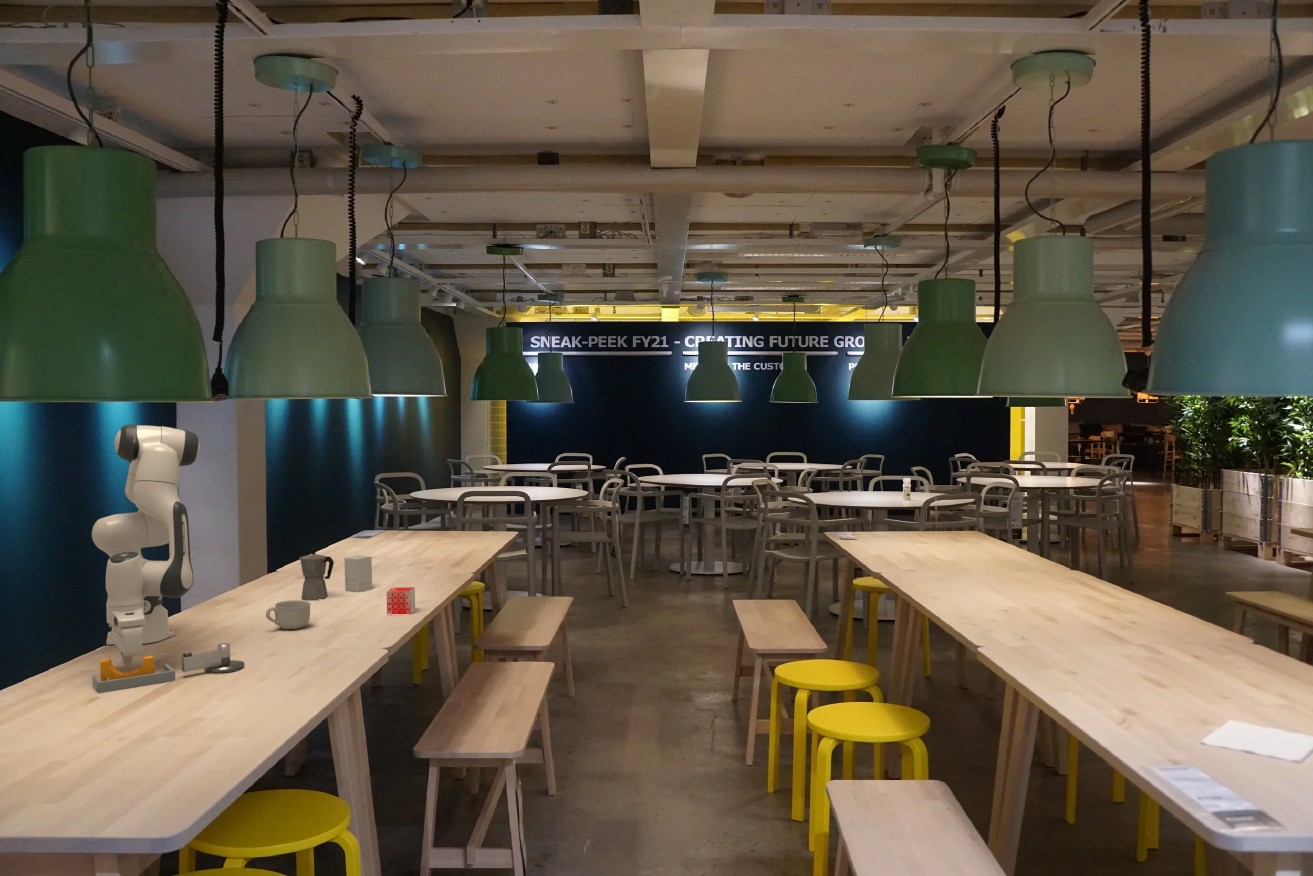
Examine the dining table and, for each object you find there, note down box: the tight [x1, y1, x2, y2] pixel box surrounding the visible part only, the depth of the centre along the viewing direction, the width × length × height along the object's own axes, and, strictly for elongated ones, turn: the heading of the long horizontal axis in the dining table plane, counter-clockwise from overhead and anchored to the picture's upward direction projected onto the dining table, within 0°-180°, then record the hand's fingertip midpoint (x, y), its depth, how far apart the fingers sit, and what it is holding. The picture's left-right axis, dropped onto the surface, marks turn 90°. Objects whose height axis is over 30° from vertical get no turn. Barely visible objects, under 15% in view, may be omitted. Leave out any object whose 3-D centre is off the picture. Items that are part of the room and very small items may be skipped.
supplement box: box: [343, 555, 373, 593], centre depth 389 cm, size 7×7×13 cm
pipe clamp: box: [99, 655, 157, 681], centre depth 265 cm, size 12×4×6 cm, turn 106°
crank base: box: [203, 659, 245, 675], centre depth 277 cm, size 10×10×1 cm
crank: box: [180, 642, 231, 673], centre depth 273 cm, size 12×3×5 cm, turn 137°
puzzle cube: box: [386, 586, 416, 615], centre depth 347 cm, size 8×8×8 cm
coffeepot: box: [298, 548, 335, 601], centre depth 373 cm, size 15×9×18 cm, turn 68°
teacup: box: [265, 599, 311, 631], centre depth 325 cm, size 14×11×8 cm
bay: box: [92, 663, 176, 693], centre depth 264 cm, size 10×18×2 cm, turn 127°
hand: (126, 666), depth 272 cm, fingers closed
